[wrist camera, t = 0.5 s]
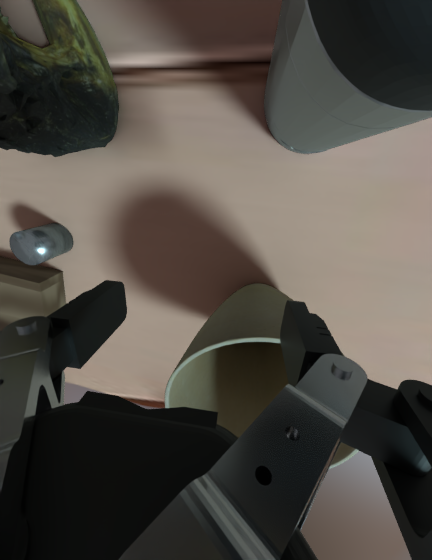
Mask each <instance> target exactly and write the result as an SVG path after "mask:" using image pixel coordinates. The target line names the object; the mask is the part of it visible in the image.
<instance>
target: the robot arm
mask: <svg viewBox="0 0 432 560" xmlns="http://www.w3.org/2000/svg"><path fill="white" fill-rule="evenodd" d="M264 110H265V118H266V121H267V124H268V128H269V129H270V131H271V133H272V135H273V137H274V138H275V139H276V140H277V141H278V142H279V143H280V144H281V145H282V146H284V147H285V148H287V149H288V150H291V151H293V152H296V153H303V154H311V153H318V152H323V151H326V150H328V149H331V148H335V147H338V146H341V145H344V144H348V143H351V142H354V141H357V140H360V139H364V138H367V137H370V136H373V135H377V134H380V133H383V132H386V131H389V130H393V129H396V128H399V127H402V126H406V125H409V124H412V123H415V122H418V121H421V120H424V119H428V118H431V117H432V0H282V5H281V10H280V15H279V20H278V26H277V31H276V36H275V42H274V47H273V52H272V57H271V63H270V67H269V72H268V77H267V83H266V88H265V96H264ZM126 314H127V306H126V297H125V288H124V284H123V283H122V282H118V281H109V280H106V281H104V282H102V283H101V284H99V285H98V286H96V287H95V288H93V289H92V290H89V291H86V292H84V293H82V294H81V295H79V296H78V297H76V299H73V300H71V301H70V302H69V304H68V303H67V304H65V305H64V306H62V307H61V308H59V309H58V310H56V311H55V312H53V313H52V314H50V315H49V316H47V317H44V316H32V317H27V318H23V319H20V320H17V321H14V322H12V323H10V324H9V325H7V326H6V327H4V329H3V330H2V331H0V560H318V559H317V557H316V556H315V554H314V553H313V551H312V549H311V548H310V546H309V544H308V543H307V541H306V540H305V538H304V536H303V535H302V533H301V528H302V526H303V524H304V522H305V520H306V518H307V515H308V513H309V511H310V509H311V506H312V504H313V502H314V500H315V498H316V495H317V493H318V491H319V489H320V487H321V484H322V482H323V480H324V478H325V476H326V474H327V472H328V469H329V467H330V465H331V463H332V461H333V459H334V457H335V455H336V452H337V450H338V448H339V446H340V444H341V442H342V443H344V444H346V445H348V446H350V447H352V448H355V449H357V450H359V451H361V452H363V453H365V454H368V455H370V456H371V457H372V460H373V462H374V465H375V467H376V470H377V472H378V475H379V477H380V480H381V483H382V485H383V487H384V490H385V493H386V495H387V497H388V500H389V503H390V505H391V508H392V510H393V513H394V515H395V518H396V520H397V523H398V526H399V528H400V531H401V533H402V536H403V538H404V541H405V543H406V546H407V548H408V551H409V553H410V556H411V558H412V560H432V385H429V384H427V383H424V382H421V381H417V380H405V381H402V382H401V384H400V386H399V388H398V390H397V389H394V388H391V387H388V386H385V385H383V384H380V383H377V382H374V381H372V380H369V379H367V375H366V373H365V371H364V370H363V369H362V367H360V366H359V365H358V364H357V363H356V362H354V361H353V360H351V359H349V358H347V357H344V356H343V355H342V353H341V351H340V349H339V347H338V346H337V344H336V342H335V340H334V338H333V337H332V336H331V333H330V331H329V330H328V328H327V326H326V324H325V322H324V321H323V320H322V319H321V318H320V317H319V316H317V315H316V314H312V313H309V311H308V309H307V307H306V304H305V303H304V302H299V301H290V300H287V302H286V305H285V309H284V314H283V319H282V324H281V330H280V343H281V348H282V353H283V358H284V363H285V368H286V373H287V378H288V383H289V384H288V385H286V386H285V387H284V388H283V389H282V391H281V392H280V393H279V394H278V395H277V396H276V397H275V398H274V399H273V401H272V402H271V403H270V404H269V405H268V406H267V407H266V408H265V409H264V410H263V412H262V413H261V414H260V415H259V416H258V417H257V418H256V419H255V420H254V422H253V423H252V424H251V425H250V426H249V427H248V428H247V429H246V430H245V432H244V433H243V434H242V435H241V436H240V437H239V438H238V437H237V436H236V435H234V434H233V433H232V432H231V431H229V430H227V429H226V428H224V427H222V426H220V425H218V424H217V418H218V412H214V411H208V410H202V409H195V408H189V407H175V408H162V409H145V408H142V407H140V406H138V405H136V404H134V403H132V402H130V401H128V400H125V399H123V398H121V397H119V396H115V395H109V394H103V393H96V392H90V391H87V392H86V393H85V395H84V396H83V397H82V398H81V400H80V401H79V402H77V403H70V404H65V405H64V389H65V388H64V387H65V374H64V369H65V368H66V367H72V368H78V369H81V367H82V366H83V365H84V364H85V363H86V362H87V361H88V360H89V359H90V358H91V357H92V355H93V354H94V353H95V352H96V351H97V350H98V349H99V348H100V347H101V346H102V344H103V343H104V342H105V341H106V340H107V339H108V338H109V337H110V336H111V335H112V334H113V332H114V331H115V330H116V329H117V328H118V327H119V326H120V325H121V324H122V323H123V321H124V320H125V318H126Z"/></svg>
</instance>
